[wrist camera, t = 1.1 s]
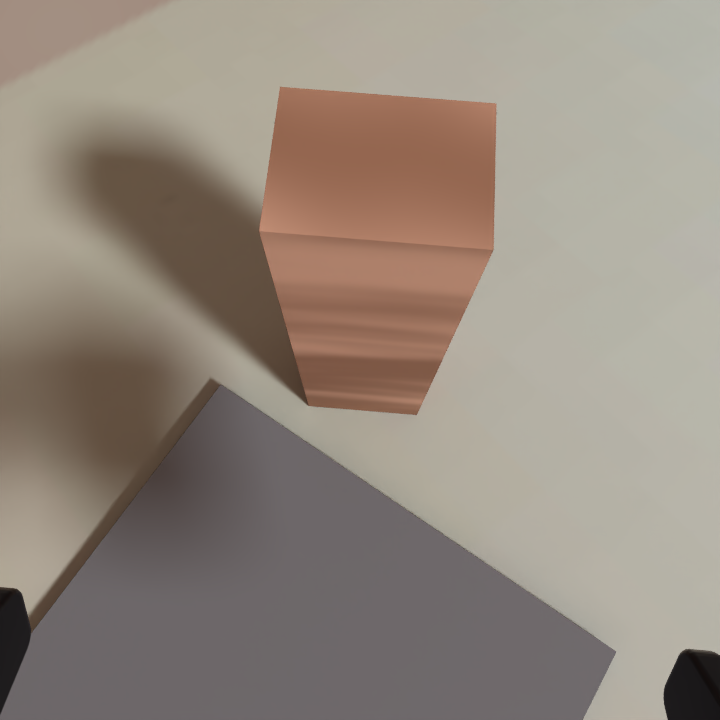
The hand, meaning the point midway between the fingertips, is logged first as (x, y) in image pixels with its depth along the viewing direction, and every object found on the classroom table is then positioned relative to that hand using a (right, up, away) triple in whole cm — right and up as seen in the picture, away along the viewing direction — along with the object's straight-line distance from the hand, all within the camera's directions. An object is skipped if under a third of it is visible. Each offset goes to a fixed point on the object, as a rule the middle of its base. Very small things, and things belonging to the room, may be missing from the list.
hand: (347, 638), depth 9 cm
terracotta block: (0, +3, +15) cm, 15 cm away
